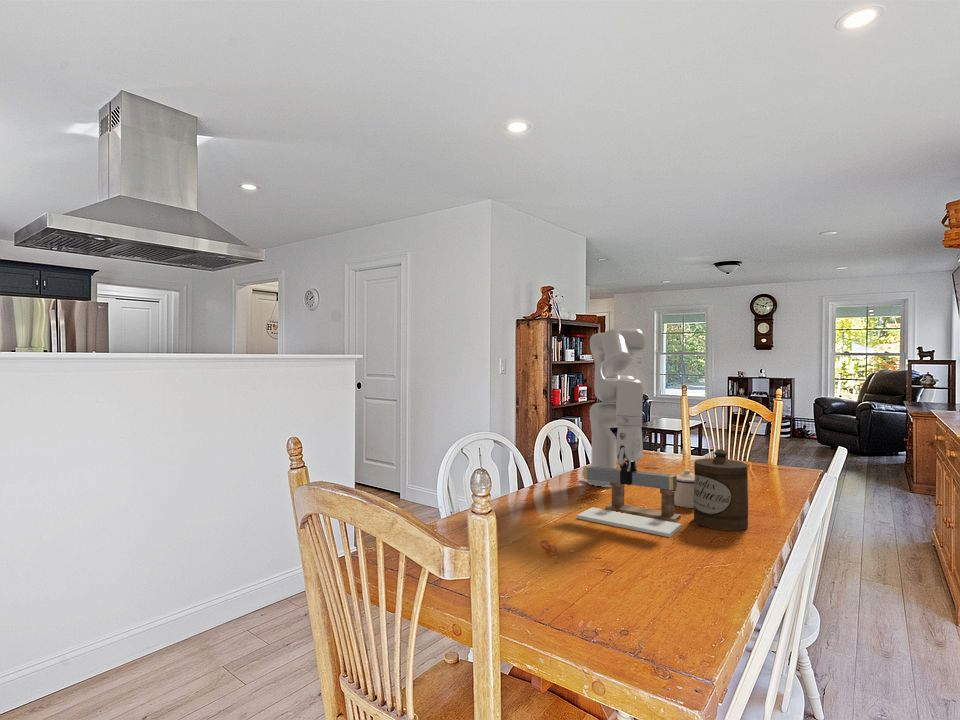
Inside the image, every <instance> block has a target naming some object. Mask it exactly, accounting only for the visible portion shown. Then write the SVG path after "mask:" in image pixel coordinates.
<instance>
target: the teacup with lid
mask: <svg viewBox="0 0 960 720" xmlns="http://www.w3.org/2000/svg"><path fill="white" fill-rule="evenodd" d="M676 475H677V488H676V491H675V494H674V506H677V507H679V506H680V508H684V507H685V509H694V482H695V481H694V480H695V473H692V472H691V470H690V469H684V470H683V472H681V473H679V474H676ZM672 492H674V491H672Z"/></svg>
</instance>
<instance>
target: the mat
mask: <svg viewBox="0 0 960 720" xmlns="http://www.w3.org/2000/svg"><path fill="white" fill-rule="evenodd" d="M576 519H578V520H584V521H588V522H593V523H597V524H598V523H599V524H603V525H608V526H613V527H617V528H623V529H626V530H627V529H628V530H633V531H636V532H637V531H638V532H642V533H647V534H651V535H658V536H660V537H661V536H662V537H666V538H671V537H672V536H674V534H675V533H677V532H678V531H679V530H680V529H682V527H683V526H682V523H679V522H669V521H664V520H659V519H653V518H648V517H643V516H637V515H632V514H627V513H621V512H616V511H611V510H605V508H599V507H594V506H593V507H589V508H588V509H586V510H584V511H582V512H580V513H577V514H576Z"/></svg>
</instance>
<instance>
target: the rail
mask: <svg viewBox="0 0 960 720" xmlns="http://www.w3.org/2000/svg"><path fill="white" fill-rule="evenodd" d="M583 470H584V476H583V480H596V481H604V482H612V483H620V468H617V467H616V468H606V467H597V466H591V465H586V466H584V467H583ZM630 471H631V485H630V486H637V487H646V488H653V489H659V490H660V489H668V490H674V489H676V488H677V475H678V474H671V473H670V474H668V473H660V472H653V471H651V472H650V471H644V470H643V471H642V470H637V471H634V470H630ZM620 484H621V483H620Z"/></svg>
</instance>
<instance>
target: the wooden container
mask: <svg viewBox="0 0 960 720" xmlns="http://www.w3.org/2000/svg"><path fill="white" fill-rule="evenodd" d="M713 454H714V457H713V458H699V459H698V458H697V459H695V460H694V463H693V464H694V465H693V466H694V467H693V468H694V475H695V480H694V481H695V482H694V508H693V521H694V522H695V523H696V524H698V525H699V526H702V527H705V528H708V529H712V530H713V529H714V530H718V531H727V532H728V531H729V532H730V531H731V532H733V531H742V530H745V529H747V528H748V527H749V483H748V482H749V481H748V479H749V477H748V476H749V475H748V474H749V473H748V470H749V469H748V463H745V462H744V461H740V460H739V461H738V460H733V459H728V458H727V457H726V456H727V455H728V453H727V451H726V450H724V449H722V448H721V449H717V450H715V451H714V453H713Z"/></svg>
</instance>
